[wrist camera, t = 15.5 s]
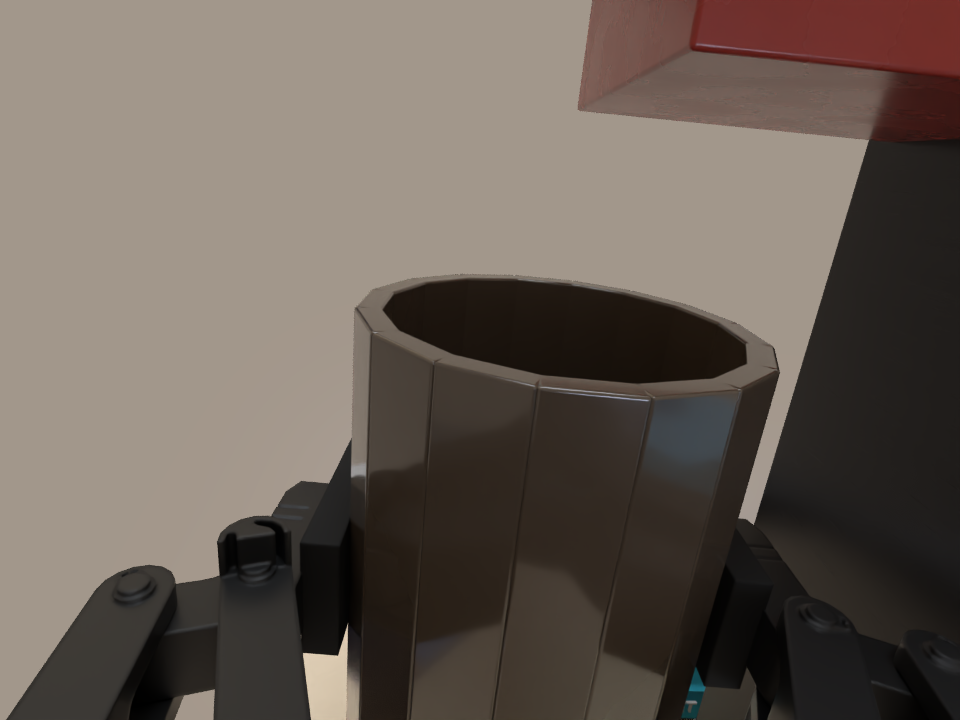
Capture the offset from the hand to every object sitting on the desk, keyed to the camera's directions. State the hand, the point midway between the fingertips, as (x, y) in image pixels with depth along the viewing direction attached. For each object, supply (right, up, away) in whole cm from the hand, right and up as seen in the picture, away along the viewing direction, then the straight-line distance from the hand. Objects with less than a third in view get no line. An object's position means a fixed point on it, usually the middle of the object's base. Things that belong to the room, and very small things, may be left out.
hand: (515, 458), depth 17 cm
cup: (-1, -8, -2) cm, 9 cm away
